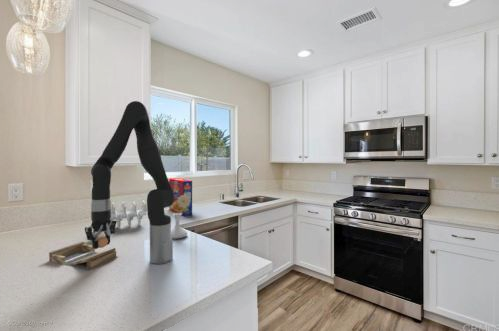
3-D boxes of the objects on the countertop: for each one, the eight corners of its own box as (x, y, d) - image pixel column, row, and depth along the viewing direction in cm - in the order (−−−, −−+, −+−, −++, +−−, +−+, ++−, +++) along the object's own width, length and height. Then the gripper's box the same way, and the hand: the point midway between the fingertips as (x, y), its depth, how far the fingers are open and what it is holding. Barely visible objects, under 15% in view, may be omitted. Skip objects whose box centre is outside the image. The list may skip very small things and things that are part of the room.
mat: (119, 257, 116) (119, 255, 116) (88, 271, 102) (88, 269, 102) (82, 249, 125) (82, 248, 125) (49, 261, 111) (49, 259, 111)
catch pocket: (94, 251, 122) (94, 243, 122) (62, 264, 108) (62, 255, 108) (82, 249, 125) (82, 241, 125) (49, 261, 111) (49, 252, 111)
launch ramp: (116, 260, 115) (116, 248, 115) (91, 271, 104) (91, 258, 103) (95, 255, 120) (95, 244, 119) (69, 265, 108) (69, 253, 108)
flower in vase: (166, 241, 139) (166, 197, 138) (167, 234, 150) (167, 194, 149) (190, 239, 142) (190, 196, 141) (189, 233, 153) (189, 193, 152)
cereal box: (169, 209, 217) (169, 178, 216) (177, 208, 222) (177, 178, 221) (182, 216, 196) (182, 181, 195) (192, 214, 201) (192, 180, 200)
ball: (102, 244, 113) (102, 234, 113) (110, 246, 112) (110, 235, 111) (92, 248, 109) (92, 237, 108) (100, 250, 107) (100, 239, 107)
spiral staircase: (105, 234, 162) (146, 227, 174) (103, 229, 147) (148, 222, 159) (103, 207, 167) (143, 202, 179) (102, 200, 153) (145, 195, 165)
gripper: (109, 205, 117) (109, 240, 118) (79, 211, 104) (79, 250, 105) (121, 206, 115) (121, 242, 115) (91, 213, 101) (91, 253, 102)
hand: (101, 246), depth 110 cm, fingers closed on ball, 5 cm apart
